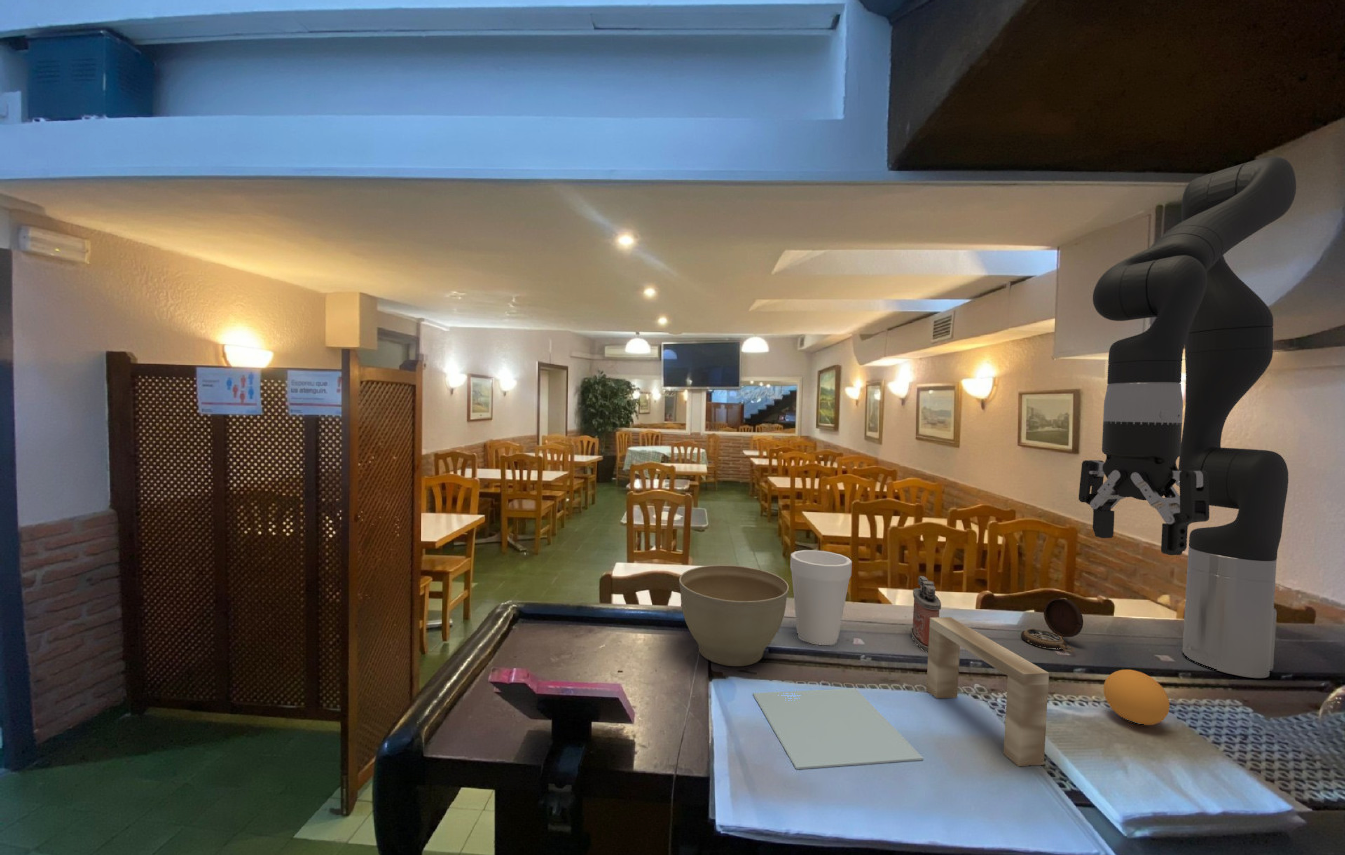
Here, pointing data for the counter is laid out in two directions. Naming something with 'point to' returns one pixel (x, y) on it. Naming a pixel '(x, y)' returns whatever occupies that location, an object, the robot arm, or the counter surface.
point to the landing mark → (833, 729)
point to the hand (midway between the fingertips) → (1135, 545)
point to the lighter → (924, 611)
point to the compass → (1056, 624)
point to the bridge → (1022, 685)
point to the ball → (1136, 697)
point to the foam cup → (819, 593)
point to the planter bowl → (732, 611)
